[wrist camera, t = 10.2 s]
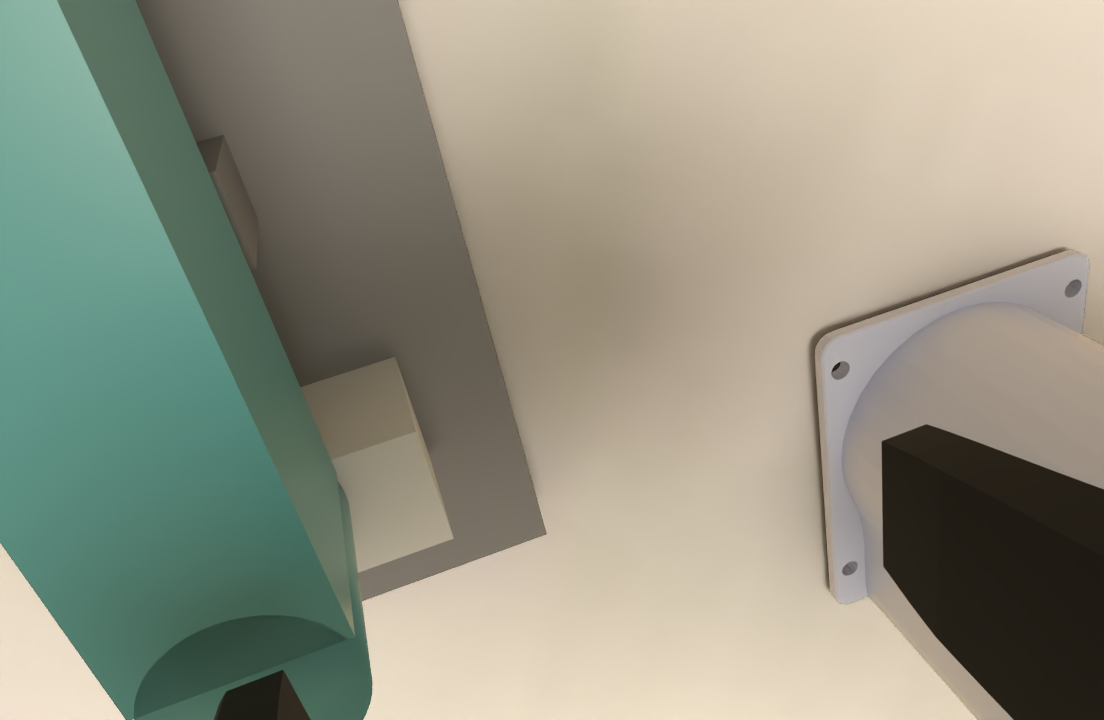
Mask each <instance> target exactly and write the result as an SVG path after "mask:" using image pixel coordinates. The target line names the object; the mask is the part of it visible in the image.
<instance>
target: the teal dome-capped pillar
mask: <svg viewBox="0 0 1104 720" xmlns="http://www.w3.org/2000/svg"><path fill="white" fill-rule="evenodd" d="M0 543H1V544H2V546H3V547H4V549H5V550H6V551H7V553H8V554H9V556H10V557H11V559H12V560H13V561H14V563H15V564H16V566H17V567H18V568H19V570H20V571H21V573H22V574H23V575H24V577H25V578H26V580H27V581H28V582H29V584H30V585H31V587H32V588H33V589H34V591H35V592H36V594H37V595H38V597H39V598H40V599H41V601H42V602H43V604H44V605H45V606H46V608H47V609H48V611H49V612H50V613H51V615H52V616H53V618H54V619H55V620H56V622H57V623H58V625H59V626H60V628H61V629H62V630H63V632H64V633H65V635H66V636H67V637H68V639H69V640H70V642H71V643H72V644H73V646H74V647H75V649H76V650H77V651H78V653H79V654H80V656H81V657H82V659H83V660H84V661H85V663H86V664H87V666H88V667H89V668H90V670H91V671H92V673H93V674H94V675H95V677H96V678H97V680H98V681H99V682H100V684H101V685H102V687H103V688H104V690H105V691H106V692H107V694H108V695H109V697H110V698H111V699H112V701H113V702H114V704H115V705H116V706H117V708H118V709H119V711H120V712H121V713H122V715H123V716H124V718H125V719H126V720H133V719H134V720H214V718H215V715H216V712H217V709H218V706H219V703H220V701H221V699H222V698H223V696H224V694H225V692H226V691H228V690H231V689H234V688H236V687H239V686H241V685H244V684H247V683H249V682H252V681H255V680H257V679H260V678H262V677H265V676H268V675H270V674H273V673H275V672H278V671H281V670H284V672H285V674H286V675H287V677H288V679H289V681H290V683H291V685H292V686H293V688H294V690H295V692H296V694H297V696H298V698H299V699H300V701H301V703H302V705H303V707H304V709H305V710H306V712H307V714H308V716H309V718H310V720H363V719H364V717H365V715H366V713H367V710H368V707H369V705H370V701H371V696H372V676H371V668H370V661H369V653H368V645H367V638H366V630H365V622H364V615H363V607H362V599H361V592H360V584H359V576H358V568H357V561H356V553H355V545H354V538H353V530H352V522H351V515H350V508H349V502H348V499H347V496H346V494H345V492H344V490H343V488H342V486H341V485H340V483H339V482H338V481H337V473H336V470H335V468H334V465H333V463H332V461H331V458H330V456H329V454H328V451H327V449H326V447H325V444H324V442H323V440H322V437H321V435H320V433H319V430H318V428H317V426H316V423H315V421H314V418H313V416H312V414H311V411H310V409H309V407H308V404H307V402H306V400H305V397H304V395H303V393H302V390H301V388H300V386H299V383H298V381H297V379H296V376H295V374H294V372H293V369H292V367H291V364H290V362H289V360H288V357H287V355H286V353H285V350H284V348H283V346H282V343H281V341H280V339H279V336H278V334H277V332H276V329H275V327H274V325H273V322H272V320H271V318H270V315H269V313H268V310H267V308H266V306H265V303H264V301H263V299H262V296H261V294H260V292H259V289H258V287H257V285H256V282H255V280H254V278H253V275H252V273H251V271H250V268H249V266H248V264H247V261H246V259H245V257H244V254H243V252H242V249H241V247H240V245H239V242H238V240H237V238H236V235H235V233H234V231H233V228H232V226H231V224H230V221H229V219H228V217H227V214H226V212H225V210H224V207H223V205H222V203H221V200H220V198H219V195H218V193H217V191H216V188H215V186H214V184H213V181H212V179H211V177H210V174H209V172H208V170H207V167H206V165H205V163H204V160H203V158H202V156H201V153H200V151H199V149H198V146H197V144H196V141H195V139H194V137H193V134H192V132H191V130H190V127H189V125H188V123H187V120H186V118H185V116H184V113H183V111H182V109H181V106H180V104H179V102H178V99H177V97H176V95H175V92H174V90H173V87H172V85H171V83H170V80H169V78H168V76H167V73H166V71H165V69H164V66H163V64H162V62H161V59H160V57H159V55H158V52H157V50H156V48H155V45H154V43H153V41H152V38H151V36H150V33H149V31H148V29H147V26H146V24H145V22H144V19H143V17H142V15H141V12H140V10H139V8H138V5H137V3H136V1H135V0H0Z"/></svg>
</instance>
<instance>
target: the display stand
mask: <svg viewBox="0 0 1104 720" xmlns="http://www.w3.org/2000/svg"><path fill="white" fill-rule="evenodd" d="M135 1H136V3H137V5H138V8H139V10H140V12H141V15H142V17H143V19H144V22H145V24H146V26H147V29H148V31H149V33H150V36H151V38H152V41H153V43H154V45H155V48H156V50H157V52H158V55H159V57H160V59H161V62H162V64H163V66H164V69H165V71H166V73H167V76H168V78H169V80H170V83H171V85H172V87H173V90H174V92H175V95H176V97H177V99H178V102H179V104H180V106H181V109H182V111H183V113H184V116H185V118H186V120H187V123H188V125H189V127H190V130H191V132H192V134H193V137H194V139H195V141H196V144H197V146H198V149H199V151H200V153H201V156H202V158H203V160H204V163H205V165H206V167H207V170H208V172H209V174H210V177H211V179H212V181H213V184H214V186H215V188H216V191H217V193H218V195H219V198H220V200H221V203H222V205H223V207H224V210H225V212H226V214H227V217H228V219H229V221H230V224H231V226H232V228H233V231H234V233H235V235H236V238H237V240H238V242H239V245H240V247H241V249H242V252H243V254H244V257H245V259H246V261H247V264H248V266H249V268H250V271H251V273H252V275H253V278H254V280H255V282H256V285H257V287H258V289H259V292H260V294H261V296H262V299H263V301H264V303H265V306H266V308H267V310H268V313H269V315H270V318H271V320H272V322H273V325H274V327H275V329H276V332H277V334H278V336H279V339H280V341H281V343H282V346H283V348H284V350H285V353H286V355H287V357H288V360H289V362H290V364H291V367H292V369H293V372H294V374H295V376H296V379H297V381H298V383H299V386H300V388H301V390H302V393H303V395H304V397H305V400H306V402H307V404H308V407H309V409H310V411H311V414H312V416H313V418H314V421H315V423H316V426H317V428H318V430H319V433H320V435H321V437H322V440H323V442H324V444H325V447H326V449H327V451H328V454H329V456H330V458H331V461H332V463H333V465H334V468H335V470H336V473H337V481H338V482H339V483H340V485H341V486H342V488H343V490H344V492H345V494H346V496H347V499H348V502H349V508H350V515H351V522H352V530H353V538H354V545H355V553H356V561H357V568H358V576H359V584H360V592H361V599H362V601H364V600H366V599H369V598H372V597H375V596H377V595H380V594H383V593H386V592H388V591H391V590H394V589H397V588H399V587H402V586H405V585H408V584H410V583H413V582H416V581H419V580H422V579H424V578H427V577H430V576H433V575H435V574H438V573H441V572H444V571H446V570H449V569H452V568H455V567H457V566H460V565H463V564H466V563H468V562H471V561H474V560H477V559H479V558H482V557H485V556H488V555H490V554H493V553H496V552H499V551H501V550H504V549H507V548H510V547H512V546H515V545H518V544H521V543H523V542H526V541H529V540H532V539H534V538H537V537H540V536H543V535H545V534H546V530H545V526H544V523H543V519H542V516H541V512H540V508H539V505H538V501H537V498H536V494H535V491H534V487H533V483H532V480H531V476H530V473H529V469H528V466H527V462H526V458H525V455H524V451H523V448H522V444H521V440H520V437H519V433H518V430H517V426H516V423H515V419H514V415H513V412H512V408H511V405H510V401H509V398H508V394H507V390H506V387H505V383H504V380H503V376H502V372H501V369H500V365H499V362H498V358H497V355H496V351H495V347H494V344H493V340H492V337H491V333H490V330H489V326H488V322H487V319H486V315H485V312H484V308H483V304H482V301H481V297H480V294H479V290H478V287H477V283H476V279H475V276H474V272H473V269H472V265H471V262H470V258H469V254H468V251H467V247H466V244H465V240H464V236H463V233H462V229H461V226H460V222H459V219H458V215H457V211H456V208H455V204H454V201H453V197H452V194H451V190H450V186H449V183H448V179H447V176H446V172H445V168H444V165H443V161H442V158H441V154H440V151H439V147H438V143H437V140H436V136H435V133H434V129H433V126H432V122H431V118H430V115H429V111H428V108H427V104H426V100H425V97H424V93H423V90H422V86H421V83H420V79H419V75H418V72H417V68H416V65H415V61H414V58H413V54H412V50H411V47H410V43H409V40H408V36H407V32H406V29H405V25H404V22H403V18H402V15H401V11H400V7H399V4H398V0H135Z"/></svg>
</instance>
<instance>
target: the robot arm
mask: <svg viewBox="0 0 1104 720" xmlns="http://www.w3.org/2000/svg"><path fill="white" fill-rule="evenodd" d="M1088 275H1089V259H1088V257H1087V256H1086V255H1084V254H1082V253H1079V252H1077V251H1074V250H1066V251H1063V252H1060V253H1058V254H1055V255H1052V256H1049V257H1046V258H1043V259H1040V260H1037V261H1034V262H1031V263H1028V264H1026V265H1023V266H1020V267H1017V268H1014V269H1011V270H1008V271H1005V272H1002V273H999V274H997V275H994V276H991V277H988V278H985V279H982V280H979V281H976V282H973V283H970V284H968V285H965V286H962V287H959V288H956V289H953V290H950V291H947V292H944V293H941V294H939V295H936V296H933V297H930V298H927V299H924V300H921V301H918V302H915V303H912V304H910V305H907V306H904V307H901V308H898V309H895V310H892V311H889V312H886V313H883V314H880V315H878V316H875V317H872V318H869V319H866V320H863V321H860V322H857V323H854V324H851V325H849V326H846V327H843V328H840V329H837V330H834V331H831V332H829V333H828V334H826V335H824V336H823V337H822V338H821V339H820V340H819V342H818V344H817V346H816V349H815V366H816V382H817V397H818V413H819V428H820V444H821V459H822V475H823V490H824V506H825V521H826V537H827V552H828V567H829V583H830V592H831V595H832V596H833V597H834V598H835V600H836V601H837V602H839V603H840V604H850V603H853V602H855V601H858V600H860V599H863V598H866V597H868V596H869V597H870V598H871V599H872V601H873V602H874V603H875V604H876V605H877V606H878V607H879V609H880V610H881V611H882V612H883V613H884V614H885V615H886V617H887V618H888V619H889V620H890V621H891V622H892V623H893V624H894V626H895V627H896V628H897V629H898V630H899V631H900V632H901V634H902V635H903V636H904V637H905V638H906V639H907V640H908V642H909V643H910V644H911V645H912V646H913V647H914V648H915V649H916V651H917V652H918V653H919V654H920V655H921V656H922V657H923V659H924V660H925V661H926V662H927V663H928V664H929V665H930V667H931V668H932V669H933V670H934V671H935V672H936V673H937V675H938V676H939V677H940V678H941V679H942V680H943V681H944V682H945V684H946V685H947V686H948V687H949V688H950V689H951V690H952V692H953V693H954V694H955V695H956V696H957V697H958V698H959V700H960V701H961V702H962V703H963V704H964V705H965V706H966V707H967V709H968V710H969V711H970V712H971V713H972V714H973V715H974V717H975V718H976V719H977V720H1104V346H1103V345H1101V344H1099V343H1097V342H1095V341H1093V340H1091V339H1089V338H1087V337H1085V336H1083V335H1082V328H1083V319H1084V310H1085V301H1086V292H1087V284H1088ZM1068 284H1069V285H1068ZM1067 285H1068V286H1067ZM1066 286H1067V288H1066ZM839 362H841V364H840V366H839V368H838V369H837V370H836V371H834V372H832V369H833V367H834V366H835V365H836V364H837V363H839ZM831 372H832V373H831ZM214 720H310V718H309V716H308V714H307V712H306V710H305V709H304V707H303V705H302V703H301V701H300V699H299V698H298V696H297V694H296V692H295V690H294V688H293V686H292V685H291V683H290V681H289V679H288V677H287V675H286V674H285V672H284V670H281V671H278V672H275V673H273V674H270V675H268V676H265V677H262V678H260V679H257V680H255V681H252V682H249V683H247V684H244V685H241V686H239V687H236V688H234V689H231V690H228V691H226V692H225V694H224V696H223V698H222V699H221V701H220V703H219V706H218V709H217V712H216V715H215V718H214Z"/></svg>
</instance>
